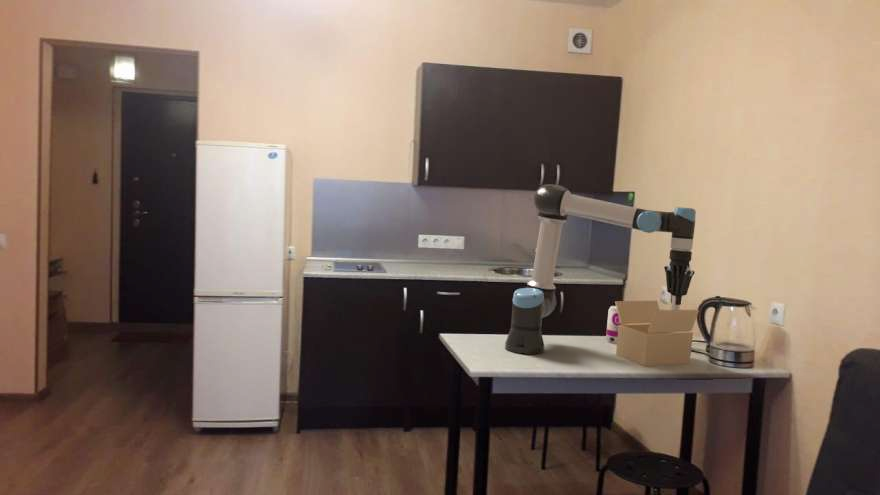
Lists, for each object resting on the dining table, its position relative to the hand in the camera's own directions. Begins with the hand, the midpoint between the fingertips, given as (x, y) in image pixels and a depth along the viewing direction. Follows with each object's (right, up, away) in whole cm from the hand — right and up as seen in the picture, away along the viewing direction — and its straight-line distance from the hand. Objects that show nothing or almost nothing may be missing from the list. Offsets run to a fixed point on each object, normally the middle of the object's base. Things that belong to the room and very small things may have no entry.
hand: (674, 313), depth 236 cm
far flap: (-8, -1, +17) cm, 19 cm away
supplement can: (-12, -16, +36) cm, 41 cm away
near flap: (0, -3, +1) cm, 3 cm away
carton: (-5, -19, +10) cm, 22 cm away
